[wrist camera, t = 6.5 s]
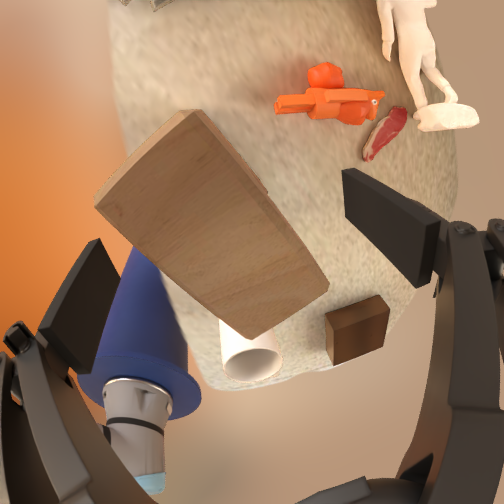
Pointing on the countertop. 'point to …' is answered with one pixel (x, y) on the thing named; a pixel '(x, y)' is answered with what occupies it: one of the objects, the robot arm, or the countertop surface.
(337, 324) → the plinth
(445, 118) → the figurine
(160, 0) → the cross
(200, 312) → the countertop surface
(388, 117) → the steak
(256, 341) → the mug
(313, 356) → the countertop surface
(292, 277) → the decorative block
